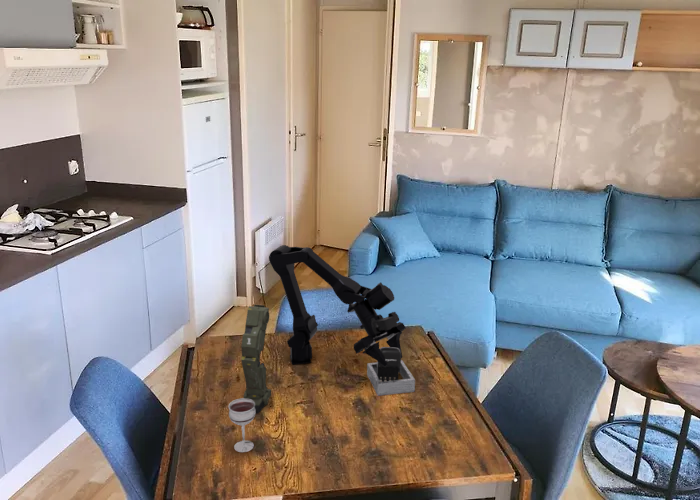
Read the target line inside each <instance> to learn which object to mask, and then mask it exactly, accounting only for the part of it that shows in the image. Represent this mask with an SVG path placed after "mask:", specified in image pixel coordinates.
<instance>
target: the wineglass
mask: <svg viewBox="0 0 700 500" xmlns="http://www.w3.org/2000/svg"><path fill="white" fill-rule="evenodd" d="M254 406H255V402H254V401H253V400H251V399H247V398H243V397H242V398H237V399H234V400H232V401H230V403H229V404H228V409H229V410H228V417H229V420H230V421H231V422H232V423H233V424H235V425H236V426H237V425H238V426H241V434H242V435H241V437H242V440H240V441H238V442H236V443H235V444H234V446H233V448H234V450H235V451H236V452H239V453H247V452H249V451H251V450H253V449H254V442H253V441H250V440H246V439H245V438H246V437H245V436H246V435H245V433H246V432H245V431H246V430H245V426H246V425H249V424H250V423H251V422H252V421H253V420H254V419H255V417H256V415H257V413H256V409H255V407H254Z"/></svg>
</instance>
